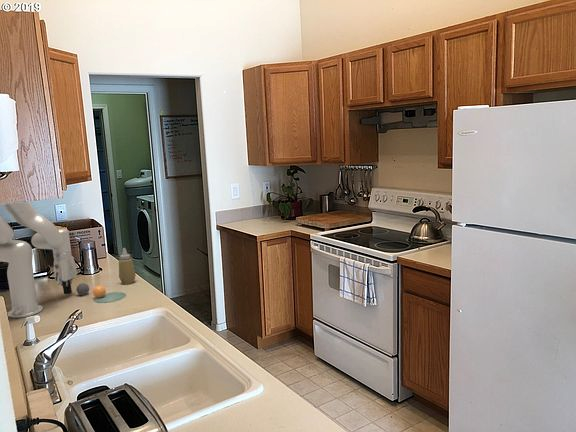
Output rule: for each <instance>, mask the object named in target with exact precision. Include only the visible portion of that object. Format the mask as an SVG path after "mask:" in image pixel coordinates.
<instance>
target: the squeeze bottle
mask: <svg viewBox="0 0 576 432" xmlns="http://www.w3.org/2000/svg"><path fill="white" fill-rule="evenodd" d="M121 252H122V254H121V255H119V256H120V258H119V260H118V278H119V280H120V282H121V285H130V284H134V283H135V280H136V270H135V265H134V261H133V258H131V254H129V253H128V252H127V249H126V247H123V248H122V251H121Z"/></svg>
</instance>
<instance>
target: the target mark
mask: <svg viewBox="0 0 576 432" xmlns="http://www.w3.org/2000/svg"><path fill="white" fill-rule="evenodd" d="M126 296H127V293H125V292H122V291H121V292H120V291H116V292H115V291H114V292H107V293H105V295H104V296H103V297H101V298H97V297H95V296H94V298H93V302H95V303H98V304H107V303H115V302H117V301H121V300H123V299H124V298H125V297H126Z"/></svg>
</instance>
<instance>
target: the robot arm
mask: <svg viewBox="0 0 576 432" xmlns="http://www.w3.org/2000/svg"><path fill="white" fill-rule="evenodd" d="M2 206H3V207H4V208H5V209H6V211H7V212H8V213H9V214H10V215H11V217H12V218H13V219H14V220H15V222H16V223H17V224H19V225H21V226H22V227H25V228H27V229H30V230H33V231H35V233H34V235H33V236H32V237H31V244H32V245H31V244H30V243H28V242H27V241H24V240H19V239H14V237H15V235H14V234H15V233H14V230H13V227H11V226H10V225H9V223H8V222H7V221H6V220H5V219H4V218H3V217H2V216H1V215H0V262H3V263H8V266H7V271H6V274H7V275H6V276H7V282H8V287H9V293H10V295H9V296H10V301H11V310H9V311H8V312H7V313H6V315H7V314H8V316H7V317H10V318H12V319H13V318H14V319H15V318H18V319H19V318H26V317H30V316H34V315H36V314H38V313H41V312H42V311H43V305H40V304H39V302H38V296H37V289H36V282H35V276H34V270H33V269H34V268H33V253H34V252H33V247H34V248H37V249H40V250H52V254H53V275H54V280H55V282H56V284H57V285H60V286H61V287H62V290H63V294H64V295H70V294H72V293H73V291H72V283H73V280H74V279H75V278H76V277H77V276H78V271H77V266H76V261H75V259H74V256H73V255H72V248H71V241H70V240H71V239H70V232H69V229H67V228H58V227H56V225H55V223H53V222H52V221H51V220H50V219H48V218H46V217H45V216H44V215H43V214H41V213H39V212H38V211H36V209H35V208H34V207H33V206H32V204H31V203H30V202H29V201H28V202H22V203H13V204H6V205H2ZM32 246H33V247H32Z"/></svg>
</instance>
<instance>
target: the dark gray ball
mask: <svg viewBox="0 0 576 432" xmlns="http://www.w3.org/2000/svg"><path fill="white" fill-rule="evenodd" d="M89 291H90V286H89V285H88V284H87V283H84V282H82V283H79V284H78V285H77V286H76V293H77V294H78V295H80V296H85V295H88V293H89Z"/></svg>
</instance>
